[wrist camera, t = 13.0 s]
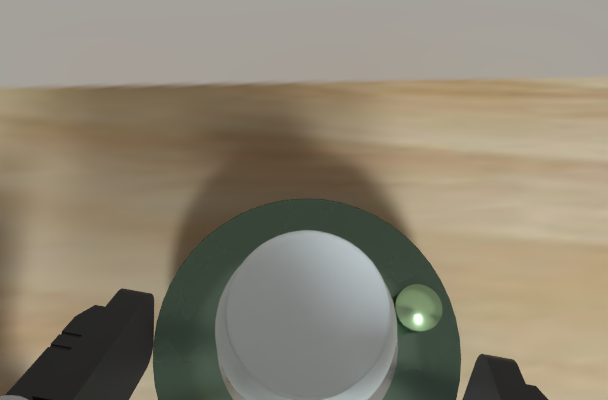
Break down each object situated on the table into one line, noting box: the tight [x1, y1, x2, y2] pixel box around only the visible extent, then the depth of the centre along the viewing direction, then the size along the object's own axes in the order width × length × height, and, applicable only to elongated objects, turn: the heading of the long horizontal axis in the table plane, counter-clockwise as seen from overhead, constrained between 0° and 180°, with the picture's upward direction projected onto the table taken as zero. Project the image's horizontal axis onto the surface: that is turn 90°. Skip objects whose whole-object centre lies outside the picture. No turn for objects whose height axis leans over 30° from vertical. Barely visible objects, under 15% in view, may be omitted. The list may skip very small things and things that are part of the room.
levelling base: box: [153, 199, 461, 400], centre depth 22 cm, size 14×14×4 cm
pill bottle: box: [215, 230, 397, 400], centre depth 16 cm, size 5×5×10 cm
